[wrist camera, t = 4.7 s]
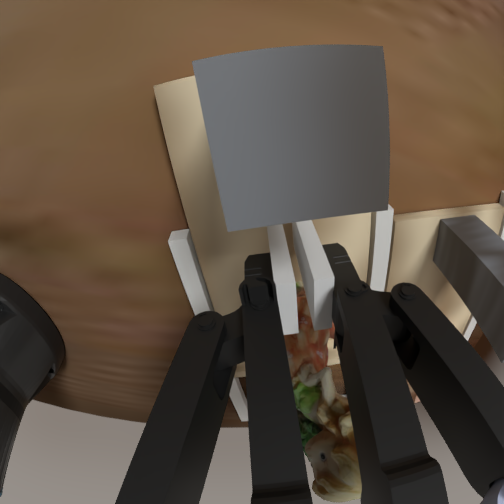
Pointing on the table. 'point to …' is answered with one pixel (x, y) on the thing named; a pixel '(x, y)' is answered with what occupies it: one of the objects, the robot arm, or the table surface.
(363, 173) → the strip
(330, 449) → the figurine
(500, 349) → the strip
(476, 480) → the robot arm
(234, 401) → the lane board
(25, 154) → the table surface
